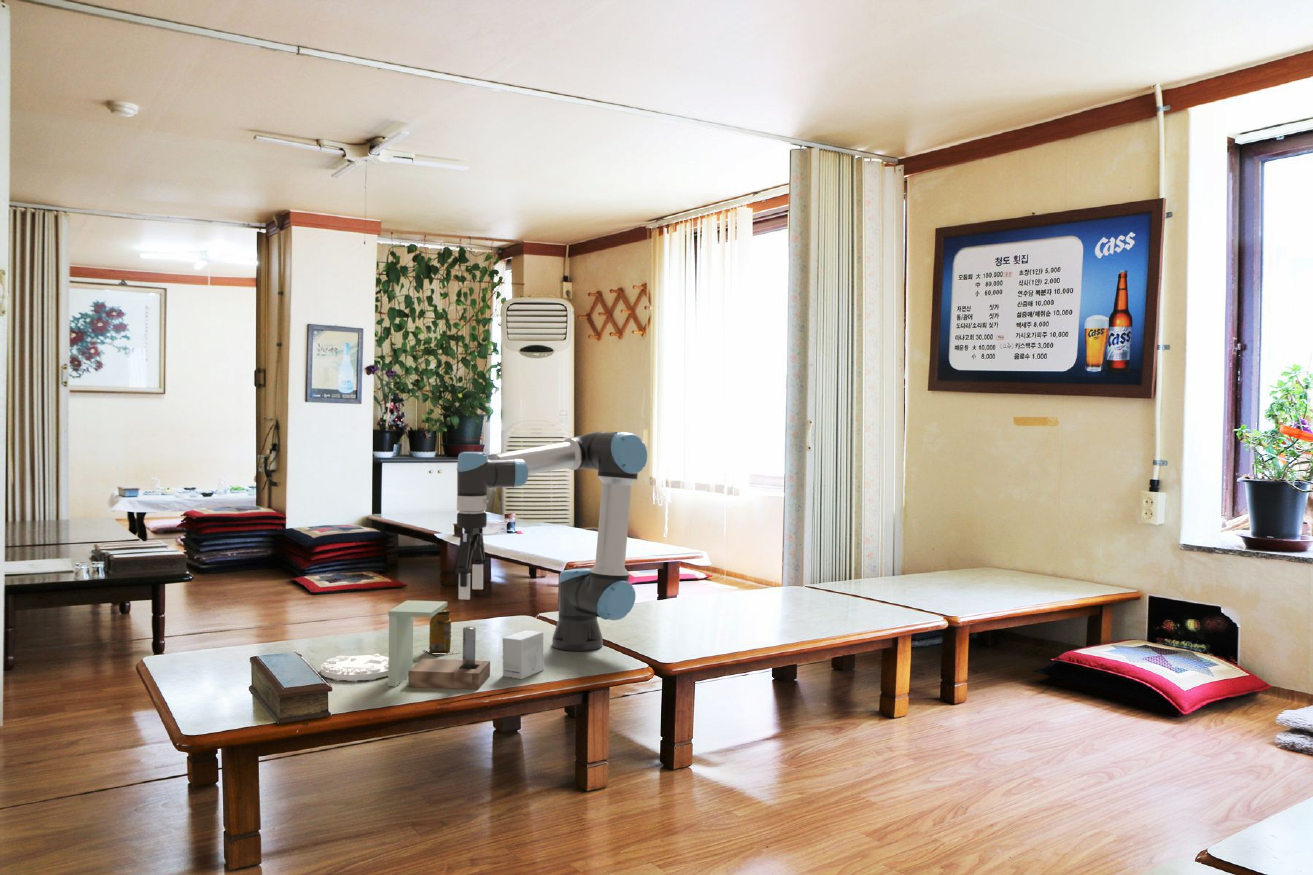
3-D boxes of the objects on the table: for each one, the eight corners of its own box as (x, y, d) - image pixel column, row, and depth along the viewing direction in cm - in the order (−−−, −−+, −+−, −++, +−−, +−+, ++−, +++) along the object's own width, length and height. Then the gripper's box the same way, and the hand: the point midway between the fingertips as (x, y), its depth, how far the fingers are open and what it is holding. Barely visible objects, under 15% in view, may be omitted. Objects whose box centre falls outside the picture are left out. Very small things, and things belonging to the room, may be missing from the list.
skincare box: (524, 667, 258) (525, 629, 257) (544, 670, 255) (544, 631, 254) (501, 676, 248) (501, 636, 248) (521, 679, 245) (521, 639, 245)
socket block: (489, 675, 248) (490, 660, 248) (478, 689, 236) (478, 673, 236) (423, 673, 249) (423, 658, 249) (408, 686, 237) (408, 670, 237)
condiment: (445, 647, 278) (446, 606, 277) (459, 653, 271) (459, 611, 271) (422, 650, 273) (423, 609, 273) (435, 656, 267) (436, 614, 266)
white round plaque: (414, 670, 253) (414, 660, 253) (357, 687, 237) (357, 676, 236) (362, 659, 264) (362, 649, 264) (304, 674, 247) (304, 663, 247)
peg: (464, 679, 244) (464, 626, 244) (476, 680, 244) (477, 626, 243) (460, 683, 241) (461, 629, 240) (473, 683, 240) (473, 629, 240)
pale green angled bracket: (446, 673, 250) (447, 601, 249) (430, 688, 236) (431, 612, 235) (405, 671, 250) (406, 600, 250) (387, 686, 236) (388, 611, 236)
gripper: (474, 517, 229) (473, 603, 230) (497, 507, 254) (496, 585, 254) (443, 516, 229) (443, 603, 230) (469, 506, 254) (469, 584, 255)
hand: (471, 594), depth 242 cm, fingers open, 13 cm apart
